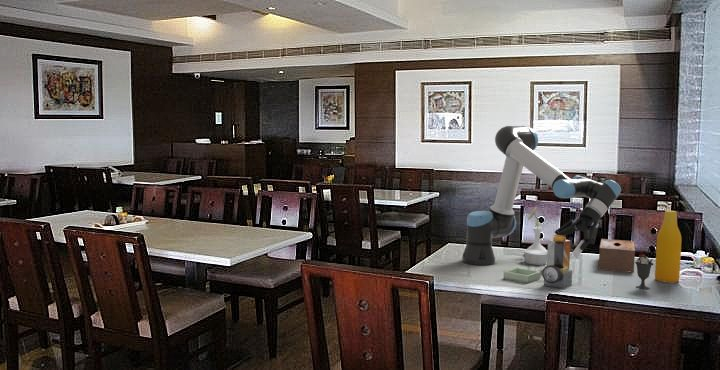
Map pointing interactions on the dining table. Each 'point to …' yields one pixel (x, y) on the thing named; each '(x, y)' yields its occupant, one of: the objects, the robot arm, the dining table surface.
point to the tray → (522, 275)
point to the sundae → (643, 269)
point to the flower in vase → (536, 234)
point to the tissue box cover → (616, 255)
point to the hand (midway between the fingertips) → (562, 251)
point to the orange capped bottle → (559, 250)
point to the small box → (566, 254)
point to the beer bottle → (668, 249)
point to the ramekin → (536, 257)
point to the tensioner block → (557, 276)
